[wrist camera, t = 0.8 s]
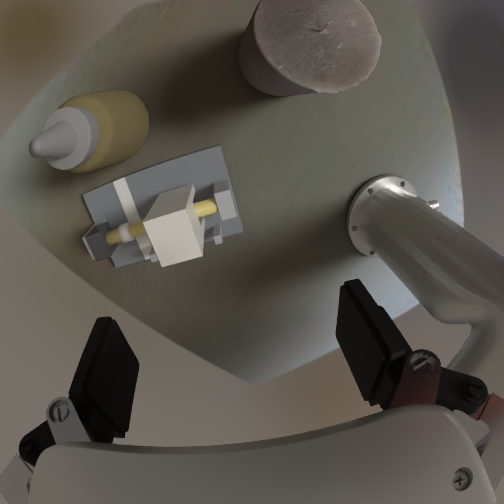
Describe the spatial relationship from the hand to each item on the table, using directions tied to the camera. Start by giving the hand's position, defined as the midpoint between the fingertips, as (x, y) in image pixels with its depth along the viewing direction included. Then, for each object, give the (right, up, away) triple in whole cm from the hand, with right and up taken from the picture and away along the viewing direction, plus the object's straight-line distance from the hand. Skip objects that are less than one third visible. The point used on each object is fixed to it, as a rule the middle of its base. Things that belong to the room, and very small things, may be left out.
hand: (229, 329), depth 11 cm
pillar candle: (+4, +25, +15) cm, 29 cm away
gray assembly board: (-10, +8, +22) cm, 26 cm away
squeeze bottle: (-14, +18, +16) cm, 28 cm away
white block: (-7, +8, +20) cm, 23 cm away
